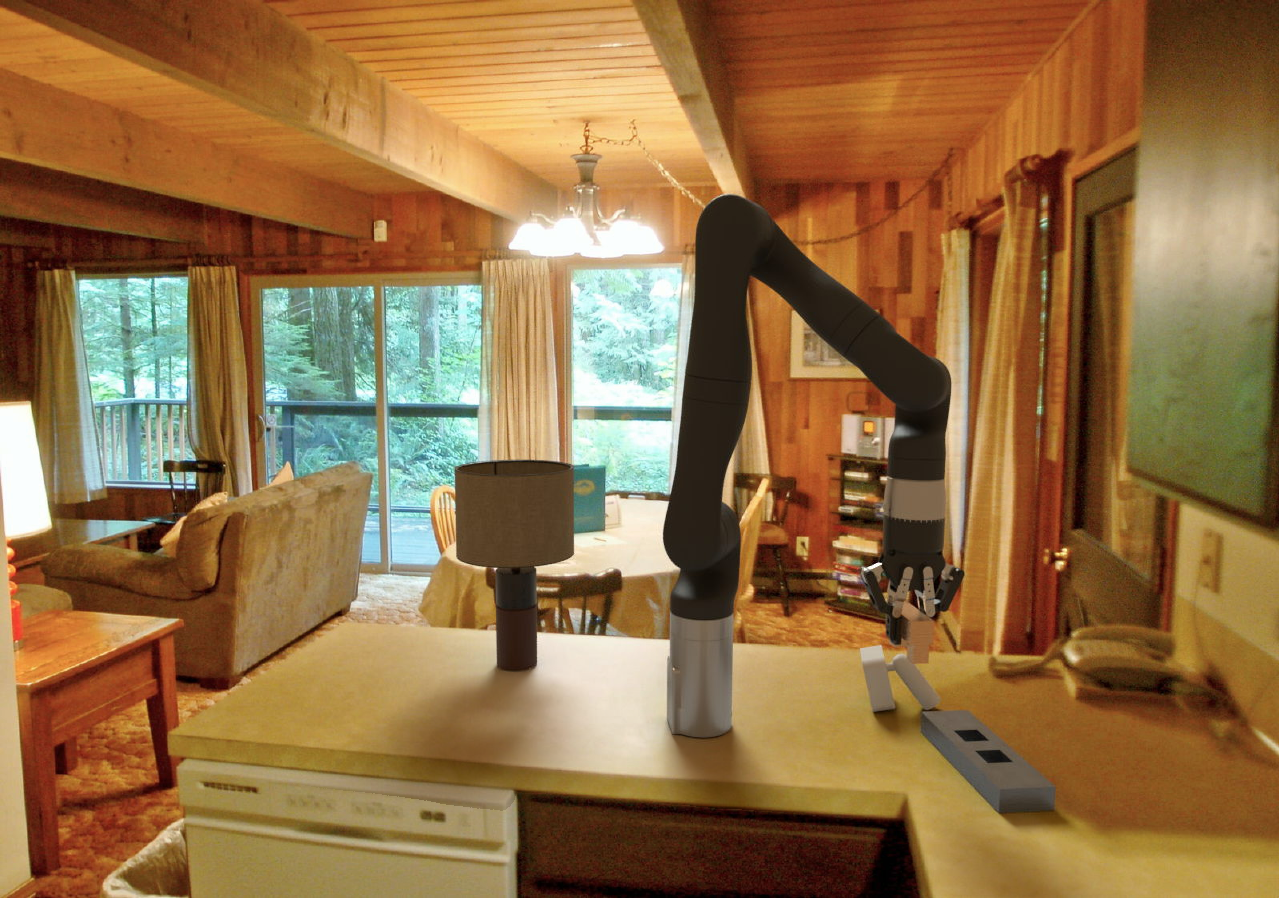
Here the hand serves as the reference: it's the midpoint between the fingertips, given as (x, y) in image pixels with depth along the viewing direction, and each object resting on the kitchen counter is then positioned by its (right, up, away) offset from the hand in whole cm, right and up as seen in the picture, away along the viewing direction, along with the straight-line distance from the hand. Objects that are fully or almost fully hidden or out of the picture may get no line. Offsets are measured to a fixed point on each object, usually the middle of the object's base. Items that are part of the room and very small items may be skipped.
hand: (908, 642), depth 110 cm
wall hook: (+5, -15, +22) cm, 27 cm away
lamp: (-57, -13, +39) cm, 70 cm away
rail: (+10, -17, +2) cm, 20 cm away
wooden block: (0, -1, 0) cm, 1 cm away
